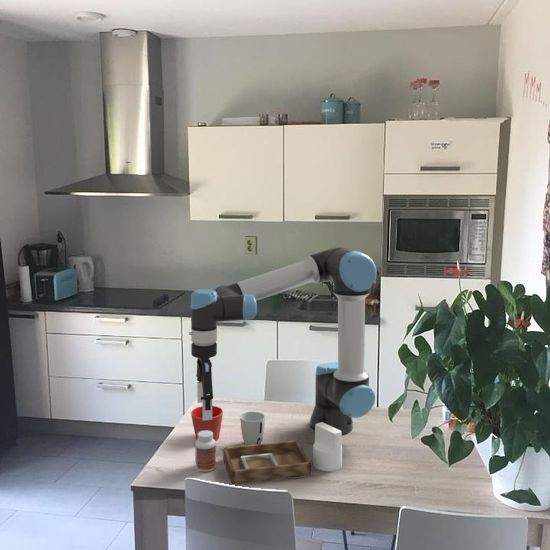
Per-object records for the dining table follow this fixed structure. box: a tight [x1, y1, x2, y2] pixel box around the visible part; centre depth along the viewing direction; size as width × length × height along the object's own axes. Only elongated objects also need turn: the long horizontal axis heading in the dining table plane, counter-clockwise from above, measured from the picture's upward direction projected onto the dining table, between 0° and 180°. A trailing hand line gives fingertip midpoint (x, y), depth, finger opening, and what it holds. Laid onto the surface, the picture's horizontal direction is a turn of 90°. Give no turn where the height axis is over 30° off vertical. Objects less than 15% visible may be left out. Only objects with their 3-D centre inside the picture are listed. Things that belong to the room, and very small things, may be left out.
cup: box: [239, 411, 266, 445], centre depth 203 cm, size 8×8×10 cm
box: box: [222, 440, 313, 485], centre depth 188 cm, size 24×16×4 cm, turn 103°
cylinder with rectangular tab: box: [312, 422, 343, 472], centre depth 190 cm, size 9×9×12 cm
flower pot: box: [190, 405, 224, 442], centre depth 207 cm, size 11×11×10 cm
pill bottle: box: [194, 430, 217, 473], centre depth 187 cm, size 6×6×11 cm
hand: (204, 410), depth 185 cm, fingers open, 13 cm apart
